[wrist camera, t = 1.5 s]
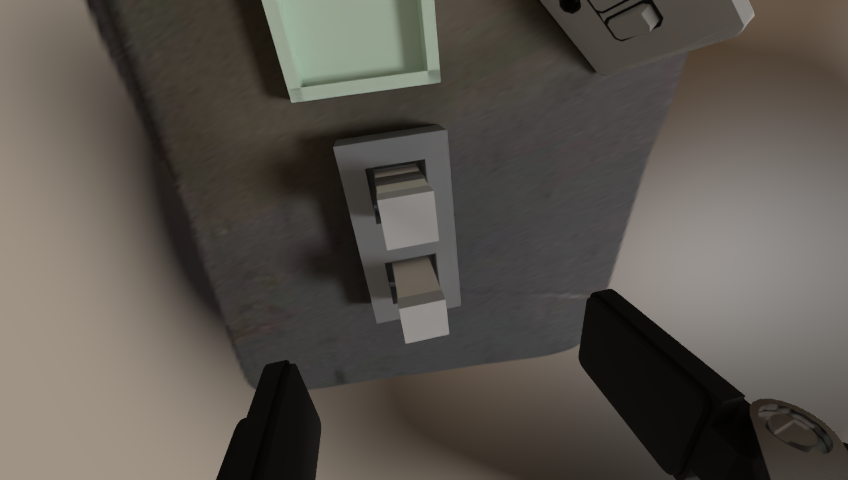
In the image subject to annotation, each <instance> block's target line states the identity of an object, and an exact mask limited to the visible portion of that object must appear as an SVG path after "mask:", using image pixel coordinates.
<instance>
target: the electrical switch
mask: <svg viewBox="0 0 848 480" xmlns="http://www.w3.org/2000/svg"><path fill="white" fill-rule="evenodd" d="M540 1H541V3H542V4H543V5H544V6H545V8H546V9H547V10H548V11H549V13H550V14H551V15H552V16H553V18H554V19H555V20H556V21H557V23H558V24H559V25H560V26H561V28H562V29H563V30H564V31H565V33H566V34H567V35H568V36H569V38H570V39H571V40H572V41H573V43H574V44H575V45H576V46H577V48H578V49H579V50H580V52H581V53H582V54H583V55H584V57H585V58H586V59H587V60H588V62H589V63H590V64H591V65H592V67H593V68H594V69H595V70H596V72H597V73H599V74H601V75H605V76H609V75H612V74H615V73H618V72H621V71H625V70H628V69H631V68H634V67H638V66H641V65H644V64H648V63H651V62H654V61H658V60H661V59H664V58H668V57H671V56H674V55H677V54H681V53H684V52H687V51H691V50H694V49H697V48H701V47H704V46H707V45H710V44H714V43H717V42H720V41H724V40H727V39H730V38H734V37H736V36H737V35H739V34H740V33H741V32H742V31H743V29H744V28H745V27H746V25H747V24H748V23H749V21H750V20H751V19H752V18H753V17H754V12H753V9H752V7H751V5H750V2H749V0H540Z"/></svg>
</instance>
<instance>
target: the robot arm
mask: <svg viewBox="0 0 848 480" xmlns="http://www.w3.org/2000/svg"><path fill="white" fill-rule="evenodd" d="M579 361H580V364H581V366H582V367H583V369H584V370H585V371H586V372H587V374H588V375H589V376H590V378H591V379H592V380H593V382H594V383H595V384H596V385H597V387H598V388H599V389H600V390H601V392H602V393H603V394H604V396H605V397H606V398H607V399H608V401H609V402H610V403H611V404H612V406H613V407H614V408H615V409H616V411H617V412H618V413H619V415H620V416H621V417H622V418H623V420H624V421H625V422H626V424H627V425H628V426H629V427H630V428H631V430H632V431H633V432H634V434H635V435H636V436H637V438H638V439H639V440H640V441H641V443H642V444H643V445H644V446H645V448H646V449H647V450H648V452H649V453H650V454H651V455H652V457H653V458H654V459H655V460H656V462H657V463H658V464H659V466H660V467H661V468H662V469H663V470H664V471H665V472H666V473H667V474H669V475H673V476H674V477H675V479H676V480H848V444H847V443H844V442H842V441H841V439H840V438H839V437H838V435H837V434H836V433H835V431H833V430H832V429H831V428H830V427H829V426H828V425H827V424H826V423H825V422H823V421H822V420H820V419H819V418H817V417H816V416H814V415H813V414H811V413H810V412H808V411H806V410H804V409H802V408H800V407H798V406H796V405H793V404H790V403H787V402H784V401H780V400H775V399H758V400H756V401H753V402H752V404H749V403H748V402H747V401H746V400H745V399H744V397H745V395H743V394H742V393H741V392H740V391H738V390H737V389H736V388H735V387H733V386H732V385H731V384H730V383H729V382H727V381H726V380H725V379H723V378H722V377H721V376H720V375H719V374H717V373H716V372H715V371H714V370H712V369H711V368H710V367H709V366H707V365H706V364H705V363H704V362H703V361H701V360H700V359H699V358H698V357H696V356H695V355H694V354H693V353H691V352H690V351H689V350H688V349H686V348H685V347H684V346H682V345H681V344H680V343H679V342H678V341H677V340H675V339H674V338H673V337H671V336H670V335H669V334H668V333H667V332H665V331H664V330H663V329H662V328H660V327H659V326H658V325H657V324H655V323H654V322H653V321H652V320H650V319H649V318H648V317H647V316H646V315H644V314H643V313H642V312H641V311H639V310H638V309H637V308H636V307H634V306H633V305H632V304H631V303H629V302H628V301H627V300H626V299H624V298H623V297H622V296H621V295H619V294H618V293H617V292H616V291H614V290H612V289H607V290H602V291H598V292H594V293H592V294H591V296H590V298H588V299H587V302H586V309H585V316H584V322H583V329H582V336H581V343H580V349H579ZM320 436H321V422H320V418H319V416H318V414H317V411H316V409H315V407H314V404H313V402H312V400H311V398H310V395H309V393H308V391H307V388H306V386H305V384H304V381H303V379H302V377H301V375H300V372H299V370H298V368H297V366H296V364H295V363H294V364H290V363H289V361H288V360H284V361H280V362H275V363H271V364H267V365H266V366H265V367H264V369H263V372H262V375H261V378H260V380H259V383H258V386H257V389H256V392H255V395H254V398H253V400H252V404H251V406H250V409H249V412H248V415H247V418H244V419H242V420H240V422H239V423H238V424H237V426H236V428H235V430H234V433H233V436H232V438H231V441H230V444H229V447H228V449H227V452H226V455H225V457H224V460H223V463H222V465H221V468H220V471H219V473H218V476H217V479H216V480H315V477H316V469H317V461H318V452H319V444H320Z"/></svg>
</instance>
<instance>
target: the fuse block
mask: <svg viewBox="0 0 848 480" xmlns="http://www.w3.org/2000/svg"><path fill="white" fill-rule="evenodd" d="M333 149H334V153H335V157H336V161H337V165H338V169H339V173H340V177H341V181H342V185H343V189H344V193H345V197H346V201H347V205H348V209H349V213H350V217H351V221H352V225H353V229H354V233H355V237H356V241H357V245H358V249H359V253H360V257H361V261H362V265H363V269H364V273H365V277H366V281H367V285H368V289H369V293H370V297H371V301H372V305H373V309H374V313H375V317H376V321H377V323H382V322H387V321H391V320H396V319H401V317H400V312H399V307H398V300H397V299H398V296H397V290H396V284H395V278H394V273H393V267H392V262H393V261H398V260H404V259H409V258H414V257H419V256H424V255H428V257H429V260H430V262H431V265H432V267H433V270H434V273H435V275H436V278H437V281H438V283H439V286H440V289H442V292H443V294H444V297H445V300H446V309H448V308H453V307H457V306H461V299H460V286H459V273H458V261H457V248H456V235H455V223H454V210H453V197H452V185H451V172H450V159H449V147H448V134H447V129H445V128H443V127H442V126H440V125H431V126H425V127H418V128H411V129H405V130H398V131H392V132H385V133H378V134H372V135H365V136H358V137H352V138H345V139H339V140H336V142H335V144H334V146H333ZM410 161H415V163H416V166H417V168H418V169H419V171H421V172H422V174H423V175H424V177H425V180H426V182H427V183H428V185H430V186H431V187H432V189H433V191H434V198H435V207H436V216H437V226H438V235H439V241H435V242H430V243H424V244H419V245H414V246H409V247H403V248H398V249H393V250H387V247H386V242H385V237H384V232H383V227H382V222H381V217H380V212H379V207H378V202H377V195H376V194H377V192H376V187H375V179H374V178H375V176H374V171H373V167H379V166H386V165H392V164H398V163H404V162H410Z"/></svg>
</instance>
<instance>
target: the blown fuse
mask: <svg viewBox="0 0 848 480" xmlns="http://www.w3.org/2000/svg"><path fill="white" fill-rule="evenodd" d="M373 171H374V176H375V178H374V179H375V187H376V192H377V194H376V195H377V202H378V207H379V212H380V217H381V222H382V227H383V232H384V237H385V242H386V247H387V250H393V249H398V248H403V247H409V246H414V245H419V244H424V243H430V242H435V241H439V235H438V226H437V216H436V207H435V198H434V191H433V189H432V187H431V186H430V185H428V183H427V182H426V180H425V177H424V175H423V174H422V172H421V171H419V169H418V168H417V166H416V163H415V161H410V162H404V163H398V164H392V165H386V166H379V167H373Z"/></svg>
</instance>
